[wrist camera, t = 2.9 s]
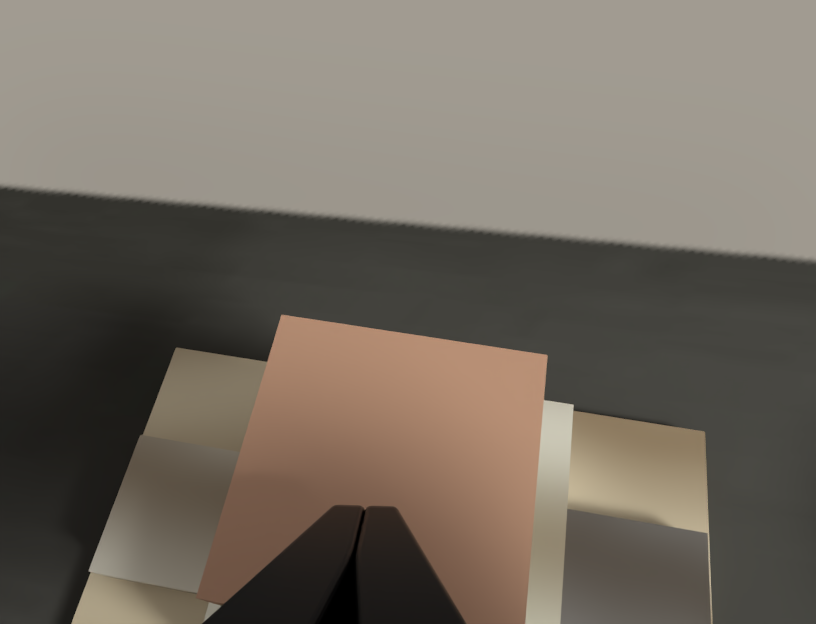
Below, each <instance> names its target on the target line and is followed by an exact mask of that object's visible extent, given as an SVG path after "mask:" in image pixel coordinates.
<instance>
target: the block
mask: <svg viewBox="0 0 816 624" xmlns="http://www.w3.org/2000/svg"><path fill="white" fill-rule="evenodd" d="M546 367H547V355H543V354H536V353H530V352H523V351H517V350H510V349H504V348H497V347H490V346H484V345H477V344H471V343H464V342H458V341H451V340H444V339H438V338H431V337H425V336H418V335H412V334H405V333H398V332H392V331H385V330H379V329H372V328H366V327H359V326H352V325H346V324H339V323H333V322H326V321H319V320H313V319H306V318H300V317H293V316H287V315H281V318H280V322H279V325H278V328H277V332H276V335H275V338H274V342H273V345H272V348H271V351H270V355H269V358H268V361H267V365H266V368H265V371H264V375H263V378H262V381H261V384H260V388H259V391H258V394H257V398H256V401H255V404H254V408H253V411H252V414H251V417H250V421H249V424H248V427H247V431H246V434H245V437H244V440H243V444H242V447H241V450H240V454H239V457H238V460H237V464H236V467H235V470H234V473H233V477H232V480H231V483H230V487H229V490H228V493H227V497H226V500H225V503H224V506H223V510H222V513H221V516H220V520H219V523H218V526H217V530H216V533H215V536H214V539H213V543H212V546H211V549H210V553H209V556H208V559H207V563H206V566H205V569H204V572H203V576H202V579H201V582H200V586H199V589H198V592H197V596H196V598H197V599H200V600H204V601H207V602H210V603H213V604H217V605H220V606H222V605H223V604H224V603H225V602H226V601H228V600H229V599H230V598H231V597H232V596H233V595H234V594H235V593H236V592H238V591H239V590H240V589H241V588H242V587H243V586H244V585H245V584H246V583H248V582H249V581H250V580H251V579H252V578H253V577H254V576H255V575H256V574H258V573H259V572H260V571H261V570H262V569H263V568H264V567H265V566H266V565H268V564H269V563H270V562H271V561H272V560H273V559H274V558H275V557H276V556H278V555H279V554H280V553H281V552H282V551H283V550H284V549H285V548H286V547H288V546H289V545H290V544H291V543H292V542H293V541H294V540H295V539H296V538H298V537H299V536H300V535H301V534H302V533H303V532H304V531H305V530H306V529H308V528H309V527H310V526H311V525H312V524H313V523H314V522H315V521H317V520H318V519H319V518H320V517H321V516H322V515H323V514H324V513H325V512H327V511H328V510H329V509H330V508H331V507H332V506H334V505H360V506H362V507H364V509H366V508H367V507H368V506H394V507H396V508H397V509H398V510H399V512H400V513H401V515H402V517H403V518H404V520H405V522H406V523H407V525H408V527H409V528H410V530H411V532H412V533H413V535H414V537H415V538H416V540H417V542H418V543H419V545H420V547H421V548H422V550H423V552H424V553H425V555H426V557H427V558H428V560H429V562H430V563H431V565H432V567H433V568H434V570H435V572H436V573H437V575H438V577H439V578H440V580H441V582H442V583H443V585H444V587H445V588H446V590H447V592H448V593H449V595H450V597H451V598H452V600H453V602H454V603H455V605H456V607H457V608H458V610H459V612H460V614H461V615H462V617H463V619H464V620H465V622H466V624H525V619H526V607H527V595H528V583H529V571H530V559H531V547H532V535H533V523H534V511H535V499H536V487H537V475H538V463H539V451H540V439H541V427H542V415H543V403H544V391H545V379H546Z"/></svg>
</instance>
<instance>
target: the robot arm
mask: <svg viewBox="0 0 816 624" xmlns="http://www.w3.org/2000/svg"><path fill="white" fill-rule="evenodd" d="M202 624H466V622H465V620H464V619H463V617H462V615H461V614H460V612H459V610H458V608H457V607H456V605H455V603H454V602H453V600H452V598H451V597H450V595H449V593H448V592H447V590H446V588H445V587H444V585H443V583H442V582H441V580H440V578H439V577H438V575H437V573H436V572H435V570H434V568H433V567H432V565H431V563H430V562H429V560H428V558H427V557H426V555H425V553H424V552H423V550H422V548H421V547H420V545H419V543H418V542H417V540H416V538H415V537H414V535H413V533H412V532H411V530H410V528H409V527H408V525H407V523H406V522H405V520H404V518H403V517H402V515H401V513H400V512H399V510H398V509H397V508H396V507H394V506H368V507H367V508H366V509H364V507H362V506H360V505H334V506H332V507H331V508H330V509H329V510H328V511H327V512H325V513H324V514H323V515H322V516H321V517H320V518H319V519H318V520H317V521H315V522H314V523H313V524H312V525H311V526H310V527H309V528H308V529H306V530H305V531H304V532H303V533H302V534H301V535H300V536H299V537H298V538H296V539H295V540H294V541H293V542H292V543H291V544H290V545H289V546H288V547H286V548H285V549H284V550H283V551H282V552H281V553H280V554H279V555H278V556H276V557H275V558H274V559H273V560H272V561H271V562H270V563H269V564H268V565H266V566H265V567H264V568H263V569H262V570H261V571H260V572H259V573H258V574H256V575H255V576H254V577H253V578H252V579H251V580H250V581H249V582H248V583H246V584H245V585H244V586H243V587H242V588H241V589H240V590H239V591H238V592H236V593H235V594H234V595H233V596H232V597H231V598H230V599H229V600H228V601H226V602H225V603H224V604H223V605H222V606H221V607H220V608H219V609H218V610H216V611H215V612H214V613H213V614H212V615H211V616H210V617H209V618H208V619H206V620H205V621H204V622H203V623H202Z"/></svg>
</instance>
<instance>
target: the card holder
mask: <svg viewBox="0 0 816 624" xmlns="http://www.w3.org/2000/svg"><path fill="white" fill-rule="evenodd" d="M266 365H267V362H264V361H258V360H252V359H245V358H239V357H233V356H226V355H220V354H214V353H208V352H201V351H195V350H189V349H183V348H176V349H175V351H174V354H173V357H172V359H171V362H170V365H169V367H168V370H167V373H166V375H165V378H164V380H163V383H162V386H161V388H160V391H159V394H158V396H157V399H156V402H155V404H154V407H153V409H152V412H151V415H150V417H149V420H148V423H147V425H146V428H145V431H144V433H143V435H140V437H139V440H138V442H137V445H136V447H135V450H134V453H133V455H132V458H131V460H130V463H129V466H128V468H127V471H126V474H125V476H124V479H123V481H122V484H121V487H120V489H119V492H118V495H117V497H116V500H115V502H114V505H113V508H112V510H111V513H110V516H109V518H108V521H107V523H106V526H105V529H104V531H103V534H102V537H101V539H100V542H99V544H98V547H97V550H96V552H95V555H94V558H93V560H92V563H91V565H90V568H89V572H91V573H90V576H89V578H88V581H87V583H86V586H85V589H84V591H83V594H82V597H81V599H80V602H79V605H78V607H77V610H76V612H75V615H74V618H73V620H72V623H71V624H202V623H203V622H204V621H205V620H206V619H208V618H209V617H210V616H211V615H212V614H213V613H214V612H215V611H216V610H218V609H219V608H220V607H221V606H220V605H217V604H213V603H210V602H207V601H204V600H200V599H197V598H196V596H197V592H198V589H199V586H200V582H201V579H202V576H203V572H204V569H205V566H206V563H207V559H208V556H209V553H210V549H211V546H212V543H213V539H214V536H215V533H216V530H217V526H218V523H219V520H220V516H221V513H222V510H223V506H224V503H225V500H226V497H227V493H228V490H229V487H230V483H231V480H232V477H233V473H234V470H235V467H236V464H237V460H238V457H239V454H240V450H241V447H242V444H243V440H244V437H245V434H246V431H247V427H248V424H249V421H250V417H251V414H252V411H253V408H254V404H255V401H256V398H257V394H258V391H259V388H260V384H261V381H262V378H263V375H264V371H265V368H266ZM573 406H574V405H571V404H565V403H559V402H552V401H546V400H544V403H543V415H542V427H541V439H540V451H539V463H538V475H537V487H536V499H535V511H534V523H533V535H532V547H531V559H530V571H529V583H528V595H527V607H526V619H525V624H712V601H711V575H710V550H709V524H708V498H707V472H706V446H705V432H703V431H697V430H691V429H684V428H678V427H672V426H665V425H659V424H653V423H647V422H640V421H634V420H628V419H622V418H615V417H609V416H603V415H596V414H590V413H584V412H578V411H573Z"/></svg>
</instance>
